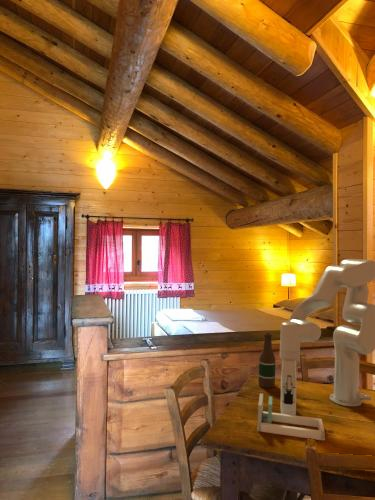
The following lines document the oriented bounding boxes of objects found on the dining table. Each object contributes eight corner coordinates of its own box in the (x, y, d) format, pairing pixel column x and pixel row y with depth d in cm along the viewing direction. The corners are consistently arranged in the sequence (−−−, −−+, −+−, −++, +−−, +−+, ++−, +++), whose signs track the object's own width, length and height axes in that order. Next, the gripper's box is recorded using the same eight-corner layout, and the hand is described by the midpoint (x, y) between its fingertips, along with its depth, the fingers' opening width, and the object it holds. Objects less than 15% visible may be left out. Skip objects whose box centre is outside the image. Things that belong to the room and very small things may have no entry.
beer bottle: (262, 389, 172) (264, 335, 172) (254, 382, 179) (256, 332, 179) (278, 387, 174) (279, 335, 174) (269, 381, 181) (271, 331, 181)
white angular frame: (321, 425, 137) (322, 400, 137) (324, 440, 127) (325, 413, 126) (259, 417, 142) (259, 393, 142) (257, 431, 132) (258, 405, 132)
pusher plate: (271, 421, 140) (272, 396, 140) (271, 430, 132) (271, 404, 132) (263, 420, 140) (264, 395, 140) (262, 429, 133) (263, 403, 133)
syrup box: (296, 415, 145) (297, 377, 145) (280, 414, 146) (281, 376, 146) (295, 409, 150) (296, 373, 150) (279, 408, 152) (280, 371, 151)
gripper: (279, 347, 157) (278, 391, 157) (279, 359, 141) (278, 408, 141) (298, 349, 156) (297, 393, 156) (300, 361, 139) (299, 410, 139)
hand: (288, 400), depth 148 cm, fingers closed on syrup box, 5 cm apart
